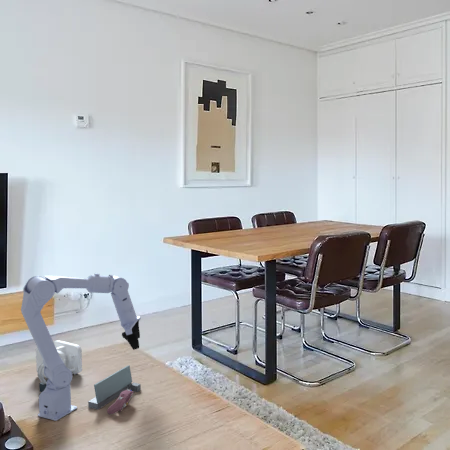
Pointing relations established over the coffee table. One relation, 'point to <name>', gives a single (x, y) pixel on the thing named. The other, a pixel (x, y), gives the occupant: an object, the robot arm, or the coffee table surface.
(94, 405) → the rail
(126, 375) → the panel
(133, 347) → the robot arm
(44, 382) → the watch
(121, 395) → the video game controller
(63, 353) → the cable organizer
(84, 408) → the coffee table surface
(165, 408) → the coffee table surface
